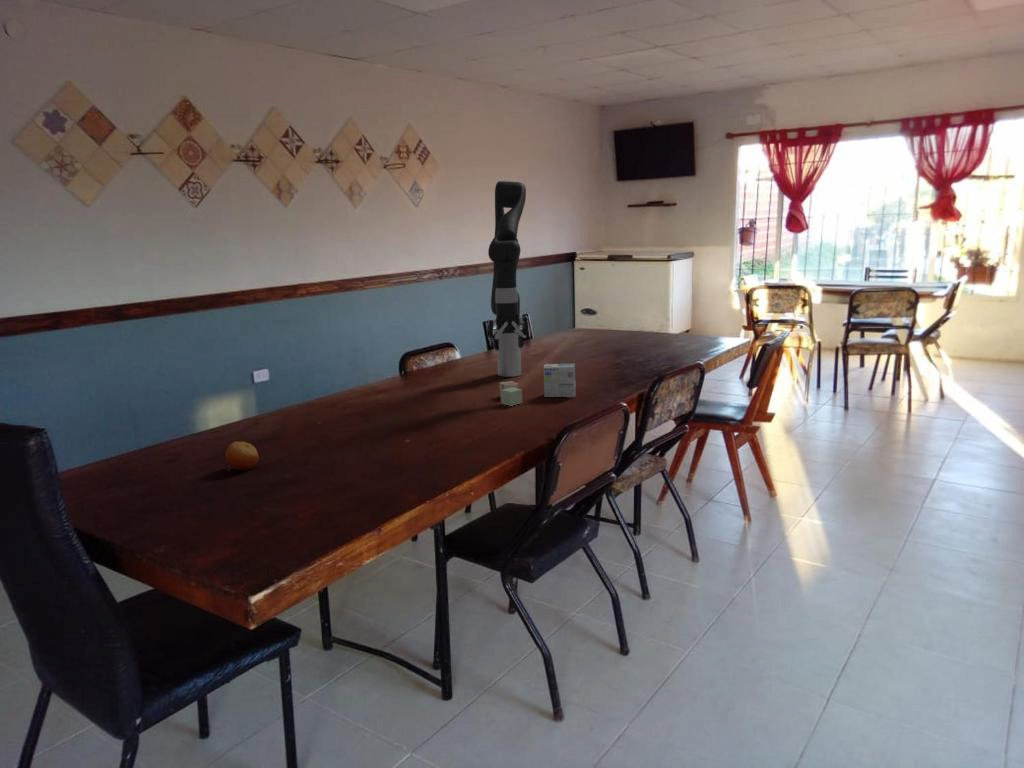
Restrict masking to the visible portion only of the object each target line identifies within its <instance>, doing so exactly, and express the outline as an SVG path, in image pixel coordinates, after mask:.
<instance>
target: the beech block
mask: <svg viewBox="0 0 1024 768" xmlns="http://www.w3.org/2000/svg"><path fill="white" fill-rule="evenodd" d="M507 388H517V389H519V383H518V382H515V381H513V380H510V381H505V382H504V381H503V382H499V397H500V396H501V391H500V390H503V389H507Z"/></svg>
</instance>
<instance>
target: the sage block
mask: <svg viewBox="0 0 1024 768" xmlns="http://www.w3.org/2000/svg"><path fill="white" fill-rule="evenodd" d="M500 391H501V397H500V405H501V404H505V405H509V406H508V407H510V406H512V407H514V406H513V405H516V404H520V403H522V404H523V390H522V388H518V389H517V388H507V389H503V390H500V389H499V392H500ZM505 405H504V406H505ZM520 405H521V404H520ZM516 406H517V405H516Z"/></svg>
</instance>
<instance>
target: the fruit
mask: <svg viewBox="0 0 1024 768" xmlns="http://www.w3.org/2000/svg"><path fill="white" fill-rule="evenodd" d="M224 457H225V461H226V464H227V466H228V468H227V470H226V471H227V472H229V471H230V470H234V471H242V472H243V471H245V472H246V471H249V470H251V468H252V467H254V466H255V465H256V463H257V462H258V461H259V459H260V457H259V453H258V451H257V449H256V447H255V446H254V445H252V444H251V443H248V442H245V441H233V442H232V443H230V445H228V447H227V448H226V450H225V453H224Z"/></svg>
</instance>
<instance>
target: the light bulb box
mask: <svg viewBox="0 0 1024 768" xmlns="http://www.w3.org/2000/svg"><path fill="white" fill-rule="evenodd" d="M542 368H543V394H544V397H567V398H575V397H576V368H575V363H553V364H552V363H549V364H548V363H545V364H544V366H543V367H542Z"/></svg>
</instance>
